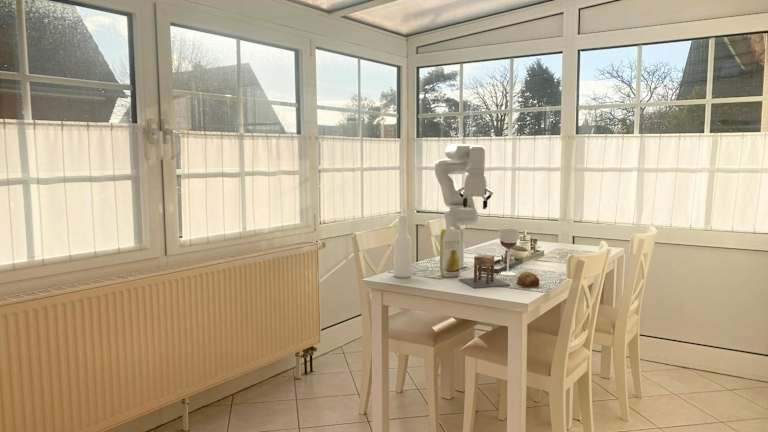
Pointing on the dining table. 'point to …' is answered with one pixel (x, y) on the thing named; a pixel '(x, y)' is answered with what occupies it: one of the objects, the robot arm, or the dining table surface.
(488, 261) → the stool
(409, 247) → the alcohol
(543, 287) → the dining table surface
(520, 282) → the bread roll
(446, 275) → the juice carton
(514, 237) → the wineglass
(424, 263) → the dining table surface
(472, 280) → the mat
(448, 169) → the robot arm
